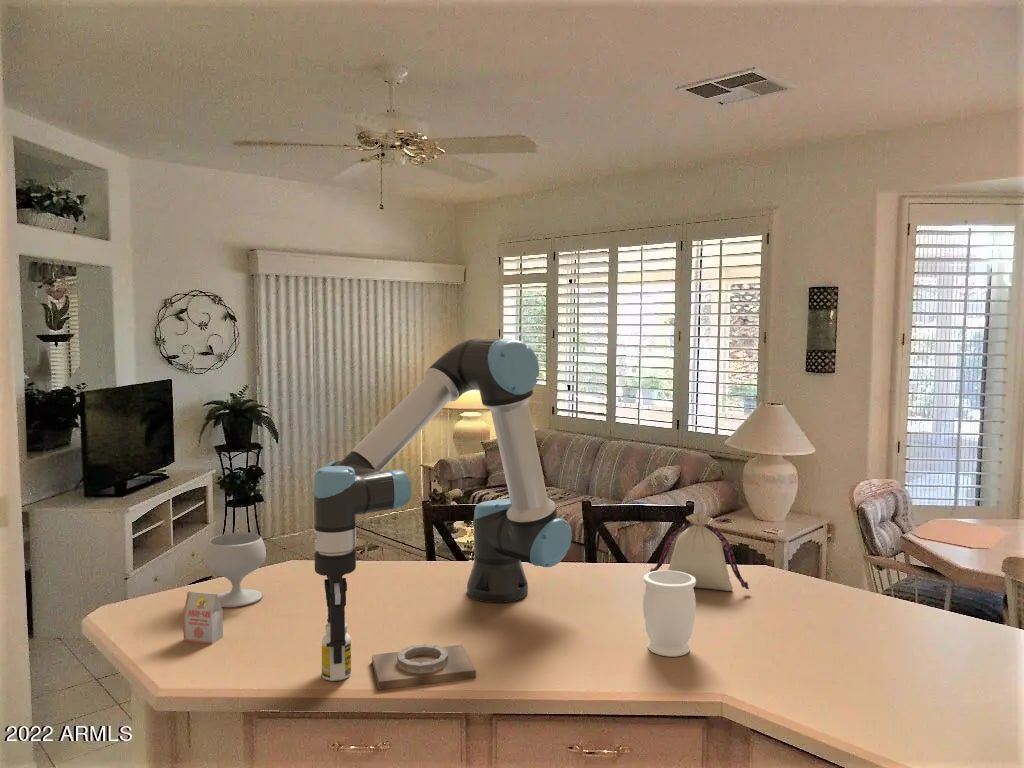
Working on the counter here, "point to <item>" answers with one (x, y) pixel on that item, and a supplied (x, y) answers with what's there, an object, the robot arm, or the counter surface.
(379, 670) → the mount board
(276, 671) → the counter surface
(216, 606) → the white carton
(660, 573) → the jar
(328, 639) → the supplement bottle
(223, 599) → the chalice
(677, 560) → the pouch
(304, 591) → the counter surface
